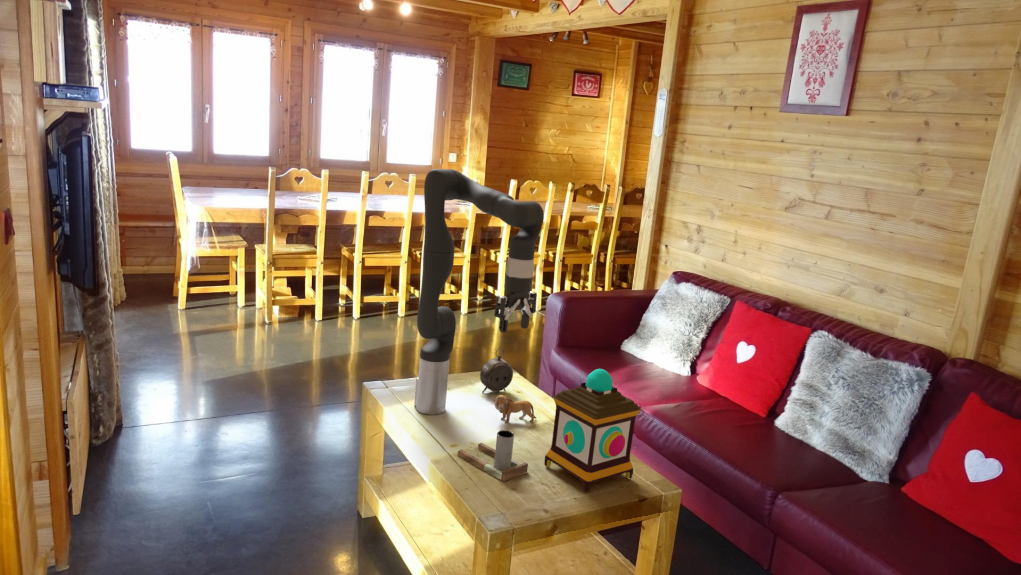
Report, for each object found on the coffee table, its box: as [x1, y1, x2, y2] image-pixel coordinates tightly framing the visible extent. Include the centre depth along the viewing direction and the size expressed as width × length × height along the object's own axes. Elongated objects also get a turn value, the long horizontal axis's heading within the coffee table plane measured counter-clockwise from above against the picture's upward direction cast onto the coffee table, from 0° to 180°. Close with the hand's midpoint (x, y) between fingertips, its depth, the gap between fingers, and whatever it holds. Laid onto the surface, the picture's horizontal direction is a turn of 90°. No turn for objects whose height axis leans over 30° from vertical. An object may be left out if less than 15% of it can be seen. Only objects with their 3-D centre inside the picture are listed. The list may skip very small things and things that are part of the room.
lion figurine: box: [494, 394, 537, 424], centre depth 229 cm, size 15×5×9 cm, turn 114°
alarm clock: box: [479, 347, 514, 396], centre depth 250 cm, size 11×5×16 cm, turn 119°
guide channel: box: [457, 442, 529, 482], centre depth 200 cm, size 18×9×2 cm, turn 46°
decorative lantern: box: [543, 368, 642, 494], centre depth 197 cm, size 20×20×30 cm
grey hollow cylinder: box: [493, 429, 515, 472], centre depth 196 cm, size 4×4×10 cm
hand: (513, 330), depth 206 cm, fingers open, 8 cm apart
